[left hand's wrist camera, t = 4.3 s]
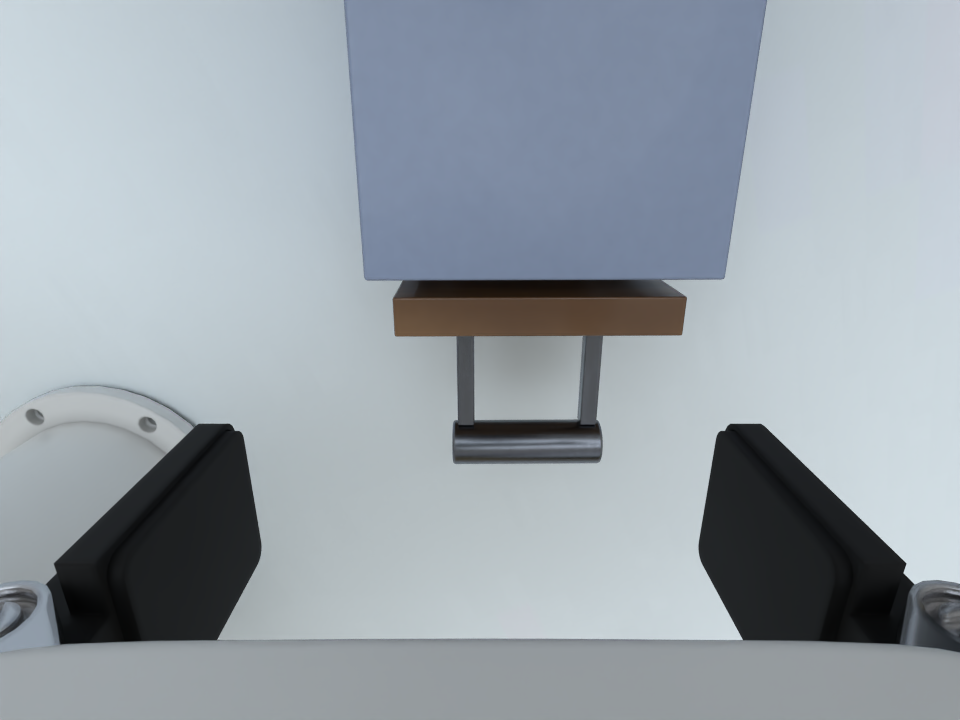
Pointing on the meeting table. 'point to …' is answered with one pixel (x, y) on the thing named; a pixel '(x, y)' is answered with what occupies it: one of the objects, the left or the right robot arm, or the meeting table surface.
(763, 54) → the meeting table surface
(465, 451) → the drawer
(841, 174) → the meeting table surface
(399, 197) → the cabinet
